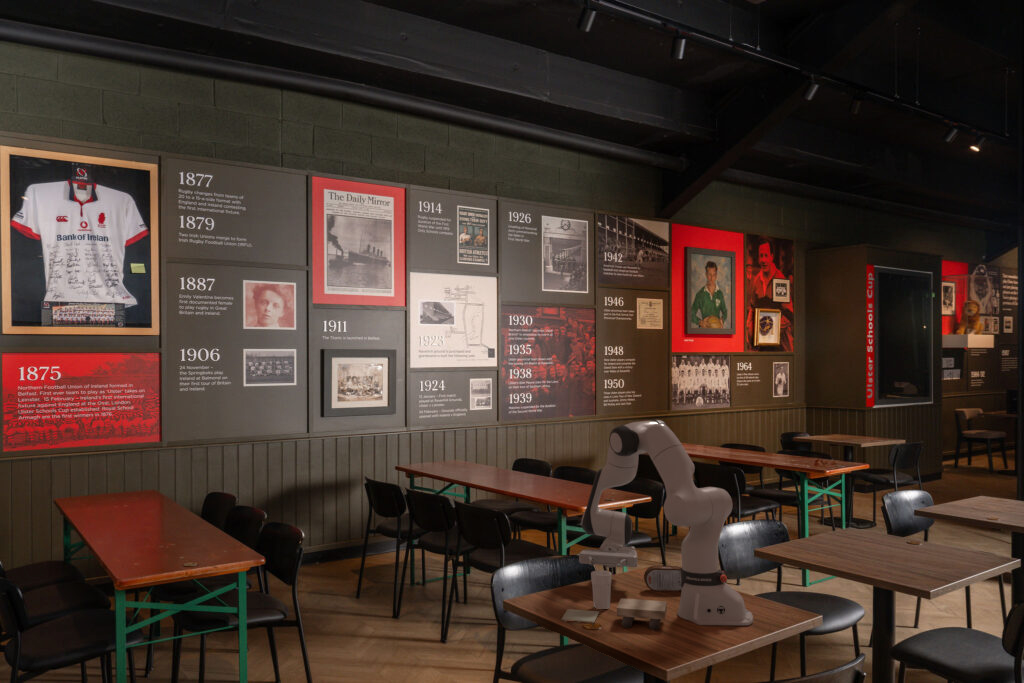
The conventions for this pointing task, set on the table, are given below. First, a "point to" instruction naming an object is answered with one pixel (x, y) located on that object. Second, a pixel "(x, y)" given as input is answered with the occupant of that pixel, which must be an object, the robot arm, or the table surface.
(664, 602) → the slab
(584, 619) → the pad
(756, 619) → the table surface
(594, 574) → the cup
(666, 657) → the table surface
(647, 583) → the tin
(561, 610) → the table surface
